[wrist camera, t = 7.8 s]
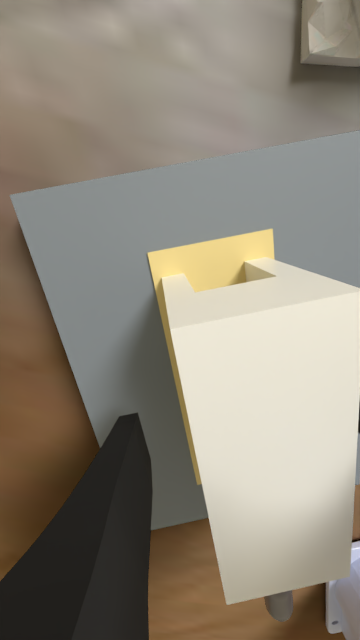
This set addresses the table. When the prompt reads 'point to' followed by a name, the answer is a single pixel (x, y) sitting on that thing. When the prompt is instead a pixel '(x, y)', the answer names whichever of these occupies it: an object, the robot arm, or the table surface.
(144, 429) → the board
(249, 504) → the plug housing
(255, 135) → the table surface
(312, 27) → the packaged product
